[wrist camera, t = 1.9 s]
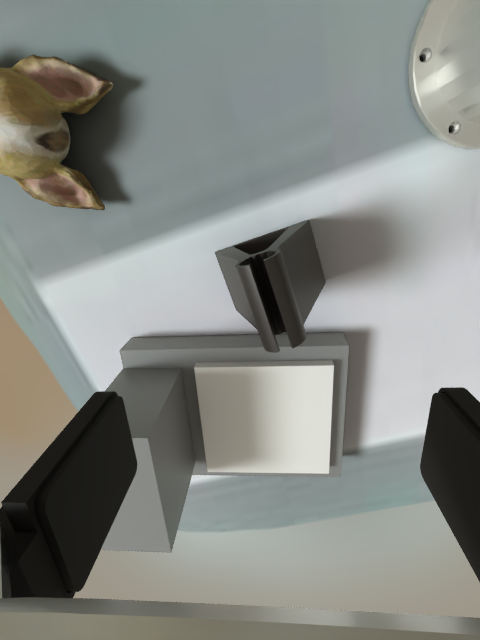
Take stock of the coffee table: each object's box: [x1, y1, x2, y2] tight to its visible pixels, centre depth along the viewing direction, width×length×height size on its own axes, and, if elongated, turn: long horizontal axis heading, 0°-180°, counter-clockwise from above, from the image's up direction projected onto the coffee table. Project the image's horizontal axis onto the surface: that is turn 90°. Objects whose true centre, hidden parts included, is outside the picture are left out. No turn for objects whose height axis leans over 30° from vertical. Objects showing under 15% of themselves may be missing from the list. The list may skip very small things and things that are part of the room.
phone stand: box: [215, 220, 325, 353], centre depth 26 cm, size 9×6×12 cm, turn 109°
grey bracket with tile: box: [102, 332, 349, 553], centre depth 31 cm, size 22×16×13 cm
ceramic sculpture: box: [0, 55, 113, 210], centre depth 25 cm, size 11×9×15 cm
